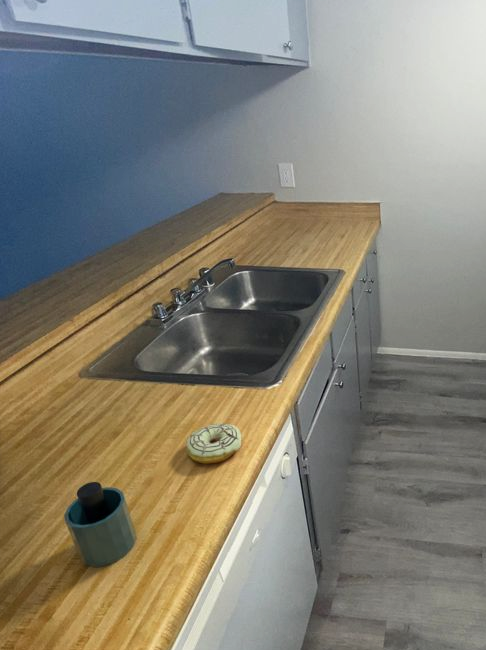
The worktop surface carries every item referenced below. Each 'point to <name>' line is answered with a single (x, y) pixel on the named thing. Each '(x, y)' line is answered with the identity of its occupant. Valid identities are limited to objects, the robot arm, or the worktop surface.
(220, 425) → the decorated donut
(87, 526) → the cup
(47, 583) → the worktop surface
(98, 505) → the black cylinder
